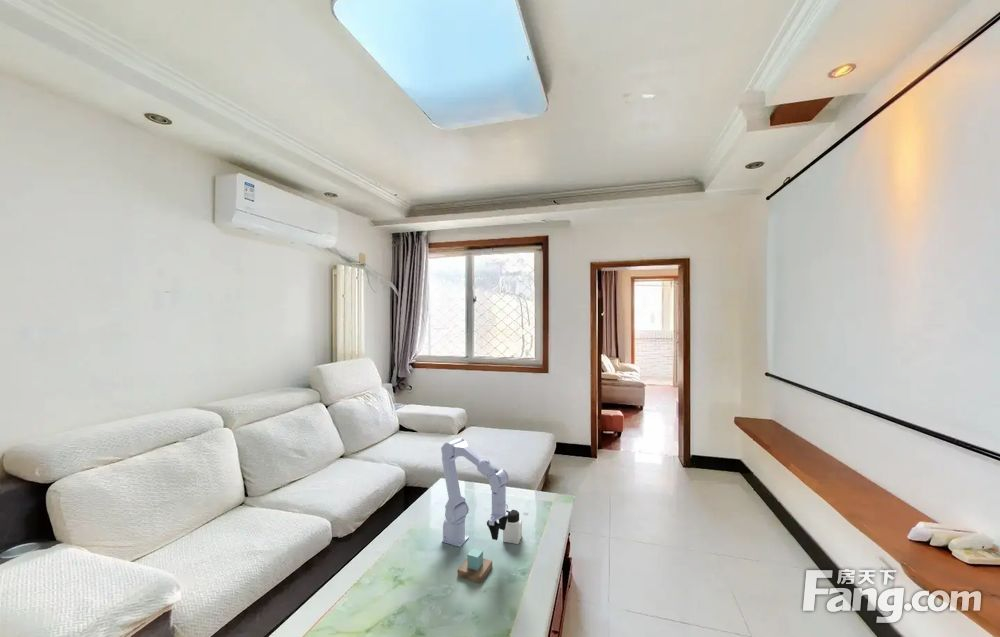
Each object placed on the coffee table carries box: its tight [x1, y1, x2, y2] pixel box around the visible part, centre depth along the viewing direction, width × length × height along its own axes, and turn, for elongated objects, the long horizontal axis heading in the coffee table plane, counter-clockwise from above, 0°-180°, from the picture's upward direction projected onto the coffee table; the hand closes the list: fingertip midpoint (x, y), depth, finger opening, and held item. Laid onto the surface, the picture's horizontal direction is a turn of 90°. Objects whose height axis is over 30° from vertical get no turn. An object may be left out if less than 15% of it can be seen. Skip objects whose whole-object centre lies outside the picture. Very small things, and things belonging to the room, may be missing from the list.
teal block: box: [466, 547, 484, 571], centre depth 148 cm, size 4×4×5 cm
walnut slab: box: [457, 557, 493, 584], centre depth 148 cm, size 10×10×3 cm
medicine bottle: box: [502, 509, 523, 545], centre depth 170 cm, size 7×7×12 cm
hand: (498, 534), depth 156 cm, fingers open, 7 cm apart
